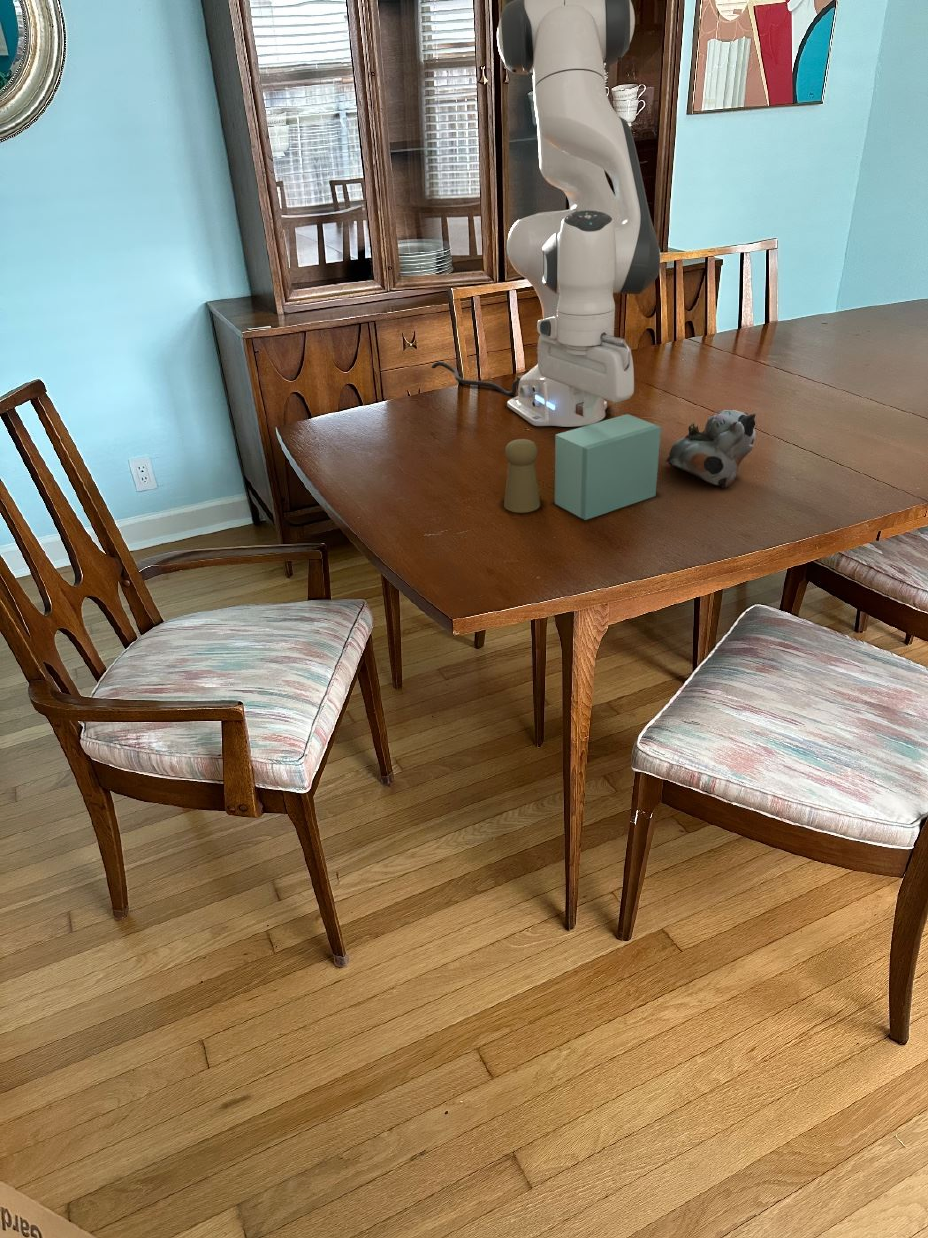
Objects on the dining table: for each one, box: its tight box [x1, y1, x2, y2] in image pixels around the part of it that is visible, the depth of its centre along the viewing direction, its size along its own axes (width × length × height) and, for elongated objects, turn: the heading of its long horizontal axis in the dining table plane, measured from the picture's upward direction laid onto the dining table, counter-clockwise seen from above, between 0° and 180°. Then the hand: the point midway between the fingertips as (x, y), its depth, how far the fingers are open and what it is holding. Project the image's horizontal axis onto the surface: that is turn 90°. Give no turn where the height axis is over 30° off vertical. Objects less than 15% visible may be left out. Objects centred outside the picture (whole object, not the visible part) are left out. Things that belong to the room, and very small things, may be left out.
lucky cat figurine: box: [664, 409, 757, 489], centre depth 145 cm, size 15×12×14 cm
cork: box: [503, 438, 541, 514], centre depth 139 cm, size 6×6×11 cm
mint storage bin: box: [554, 413, 662, 521], centre depth 139 cm, size 8×15×12 cm, turn 122°
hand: (583, 414), depth 139 cm, fingers closed
